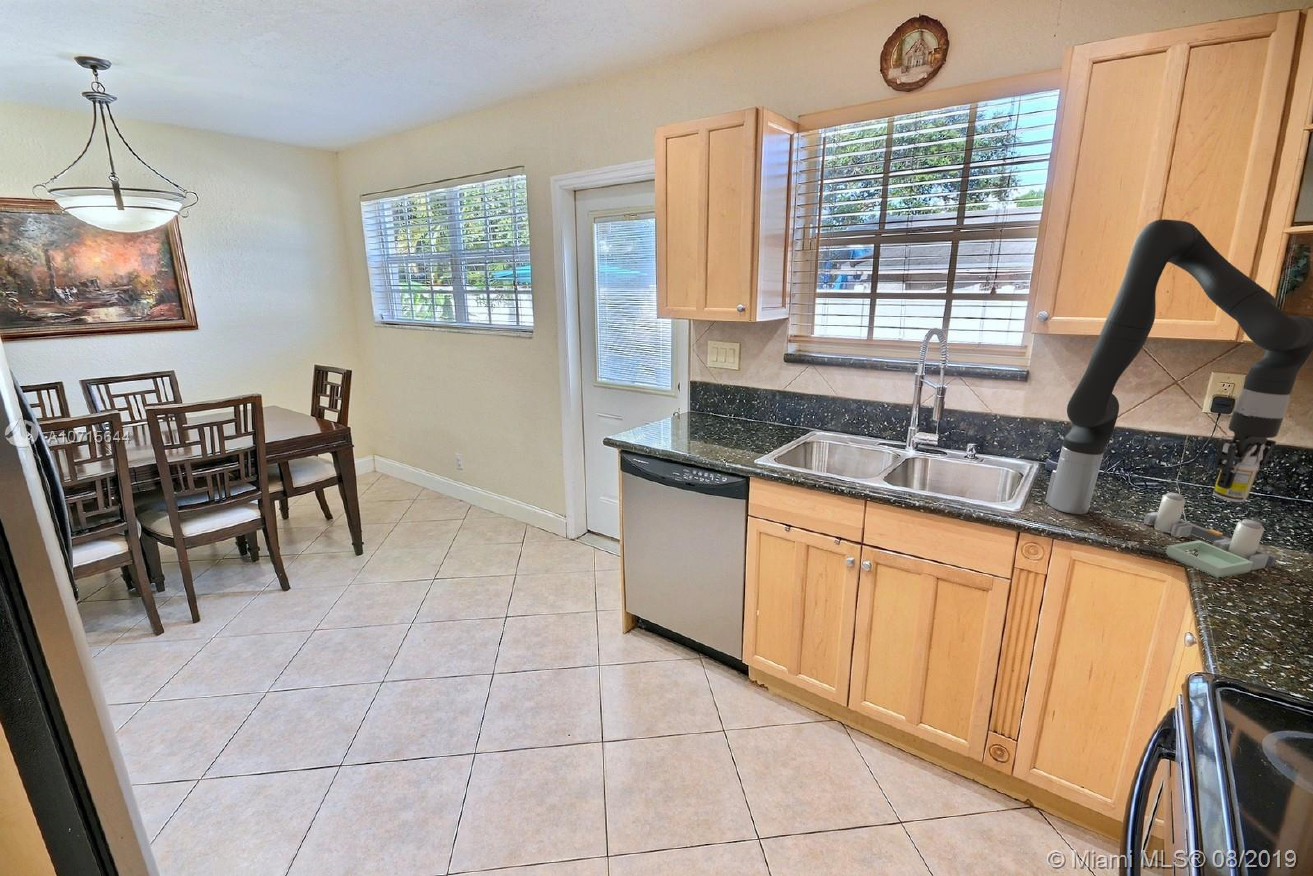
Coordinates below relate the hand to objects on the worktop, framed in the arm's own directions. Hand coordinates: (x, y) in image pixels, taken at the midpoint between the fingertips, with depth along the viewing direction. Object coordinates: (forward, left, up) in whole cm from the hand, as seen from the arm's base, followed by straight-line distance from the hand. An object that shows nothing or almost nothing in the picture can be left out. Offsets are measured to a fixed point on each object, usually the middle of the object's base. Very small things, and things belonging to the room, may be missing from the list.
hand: (1233, 485), depth 128 cm
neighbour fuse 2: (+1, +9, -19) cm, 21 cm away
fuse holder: (-7, +10, -19) cm, 23 cm away
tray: (0, 0, -19) cm, 19 cm away
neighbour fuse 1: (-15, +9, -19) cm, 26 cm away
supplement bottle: (0, 0, -3) cm, 3 cm away
